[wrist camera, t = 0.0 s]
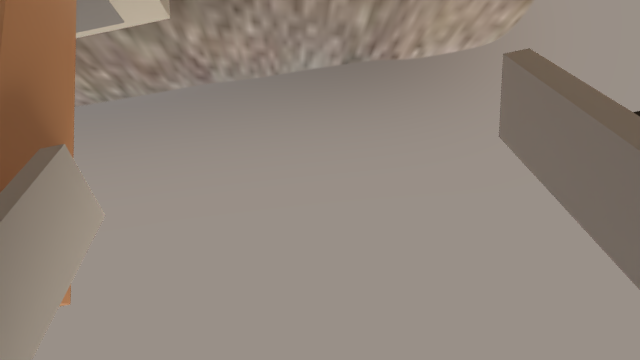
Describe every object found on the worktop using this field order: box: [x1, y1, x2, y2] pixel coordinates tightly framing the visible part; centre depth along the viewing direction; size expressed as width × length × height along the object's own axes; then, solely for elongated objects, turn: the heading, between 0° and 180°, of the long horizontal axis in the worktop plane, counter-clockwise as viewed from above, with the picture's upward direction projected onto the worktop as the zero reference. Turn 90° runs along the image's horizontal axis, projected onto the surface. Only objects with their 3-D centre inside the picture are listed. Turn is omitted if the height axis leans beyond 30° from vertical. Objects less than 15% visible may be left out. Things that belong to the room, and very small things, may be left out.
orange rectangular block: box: [0, 0, 77, 306], centre depth 17 cm, size 4×3×16 cm
